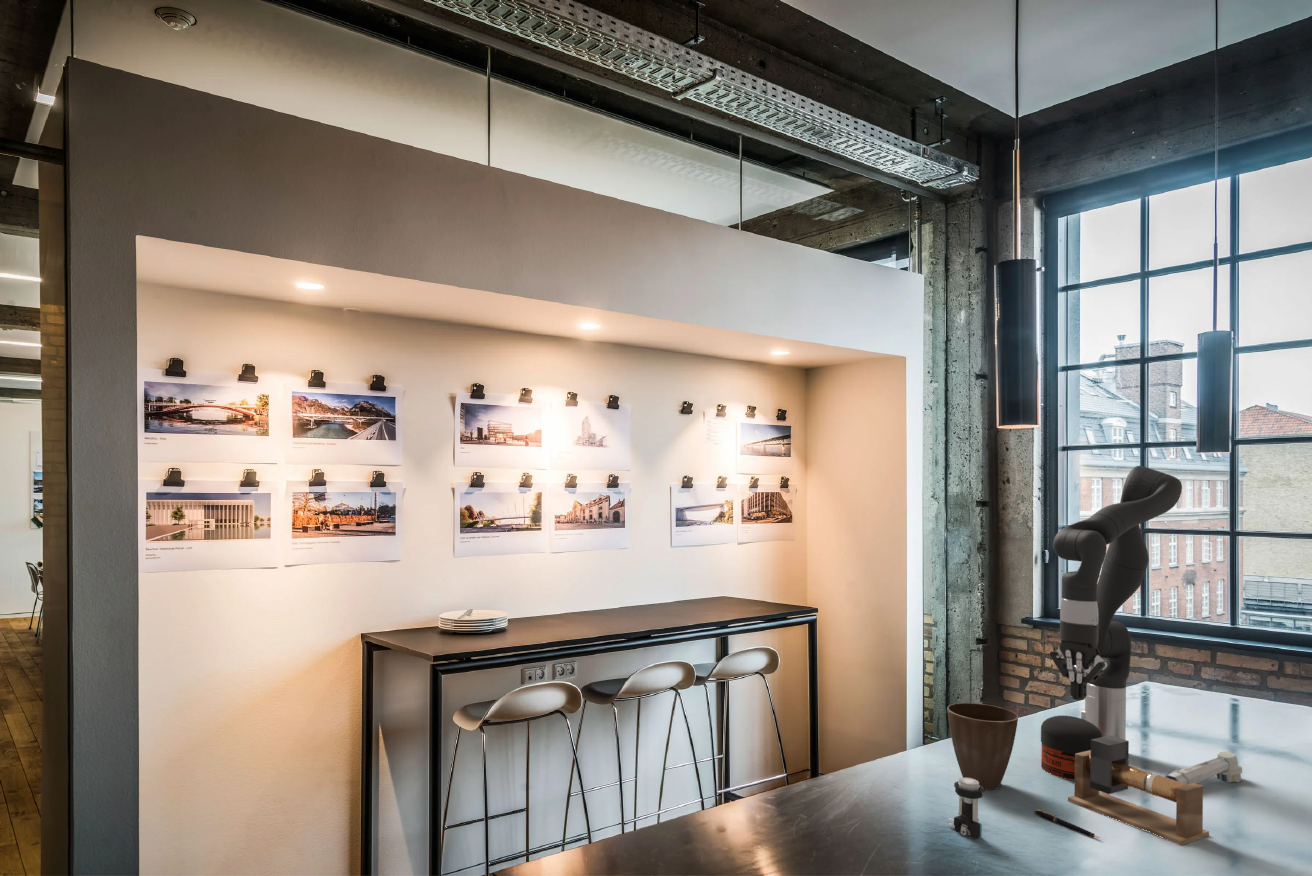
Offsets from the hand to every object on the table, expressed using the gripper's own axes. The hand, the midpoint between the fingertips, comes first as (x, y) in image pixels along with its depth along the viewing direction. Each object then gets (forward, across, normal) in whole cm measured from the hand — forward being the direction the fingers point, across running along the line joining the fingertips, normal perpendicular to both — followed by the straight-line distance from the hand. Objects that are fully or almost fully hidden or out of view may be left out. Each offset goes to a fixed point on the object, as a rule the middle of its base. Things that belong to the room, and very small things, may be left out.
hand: (1078, 699), depth 179 cm
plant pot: (+21, -14, -14) cm, 29 cm away
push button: (+21, +2, -39) cm, 44 cm away
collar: (+17, +7, 0) cm, 18 cm away
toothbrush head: (+21, +9, +35) cm, 42 cm away
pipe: (+15, +13, 0) cm, 19 cm away
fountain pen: (+21, +9, -18) cm, 29 cm away
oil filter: (+21, -10, +13) cm, 26 cm away
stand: (+21, +12, 0) cm, 24 cm away
